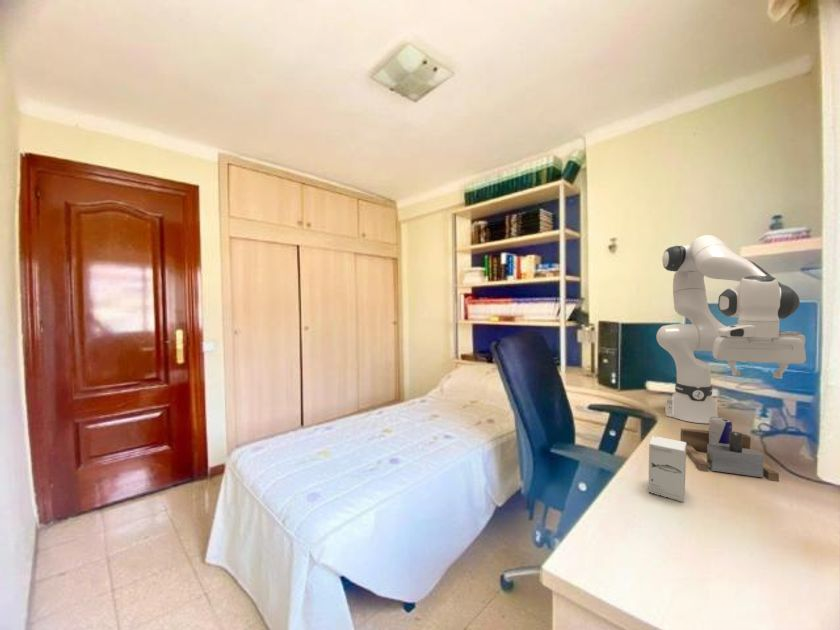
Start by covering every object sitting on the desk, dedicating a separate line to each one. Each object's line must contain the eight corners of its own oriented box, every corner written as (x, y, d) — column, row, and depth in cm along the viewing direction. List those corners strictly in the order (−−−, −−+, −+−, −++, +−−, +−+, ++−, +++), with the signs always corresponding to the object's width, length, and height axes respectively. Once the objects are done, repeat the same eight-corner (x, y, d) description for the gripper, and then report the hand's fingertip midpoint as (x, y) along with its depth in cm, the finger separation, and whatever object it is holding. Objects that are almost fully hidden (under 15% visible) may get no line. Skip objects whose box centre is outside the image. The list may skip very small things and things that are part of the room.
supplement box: (647, 493, 88) (647, 443, 87) (651, 481, 93) (651, 434, 93) (684, 503, 83) (684, 450, 82) (686, 490, 88) (686, 441, 88)
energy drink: (736, 462, 104) (736, 422, 104) (715, 461, 105) (715, 421, 105) (724, 455, 109) (724, 416, 109) (704, 453, 110) (705, 416, 110)
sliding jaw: (706, 464, 102) (707, 427, 102) (755, 471, 98) (756, 431, 98) (712, 471, 98) (712, 432, 98) (763, 478, 94) (764, 437, 94)
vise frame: (680, 446, 116) (680, 427, 116) (746, 454, 109) (746, 434, 109) (699, 470, 99) (699, 448, 99) (778, 481, 93) (778, 457, 93)
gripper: (798, 330, 102) (797, 377, 103) (711, 329, 110) (710, 372, 111) (812, 332, 96) (810, 382, 97) (719, 331, 104) (717, 376, 105)
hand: (756, 377), depth 104 cm, fingers open, 8 cm apart
